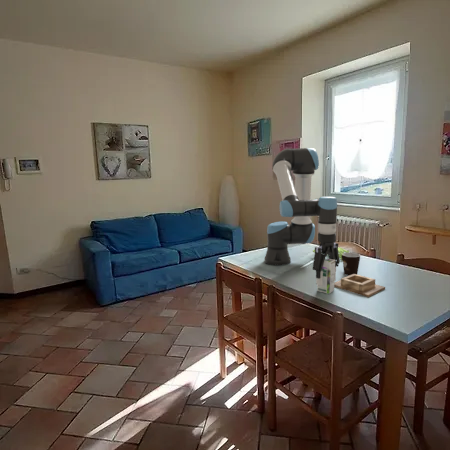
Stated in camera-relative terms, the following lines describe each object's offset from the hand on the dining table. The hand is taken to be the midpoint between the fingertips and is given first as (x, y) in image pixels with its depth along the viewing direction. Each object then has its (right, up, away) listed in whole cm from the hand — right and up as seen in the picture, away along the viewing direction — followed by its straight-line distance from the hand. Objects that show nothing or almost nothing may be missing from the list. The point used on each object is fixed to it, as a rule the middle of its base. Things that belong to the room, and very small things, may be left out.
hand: (325, 282), depth 146 cm
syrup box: (0, -4, +1) cm, 4 cm away
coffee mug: (+20, +1, +24) cm, 31 cm away
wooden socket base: (+16, -3, +3) cm, 16 cm away
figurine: (+21, +6, +57) cm, 61 cm away
